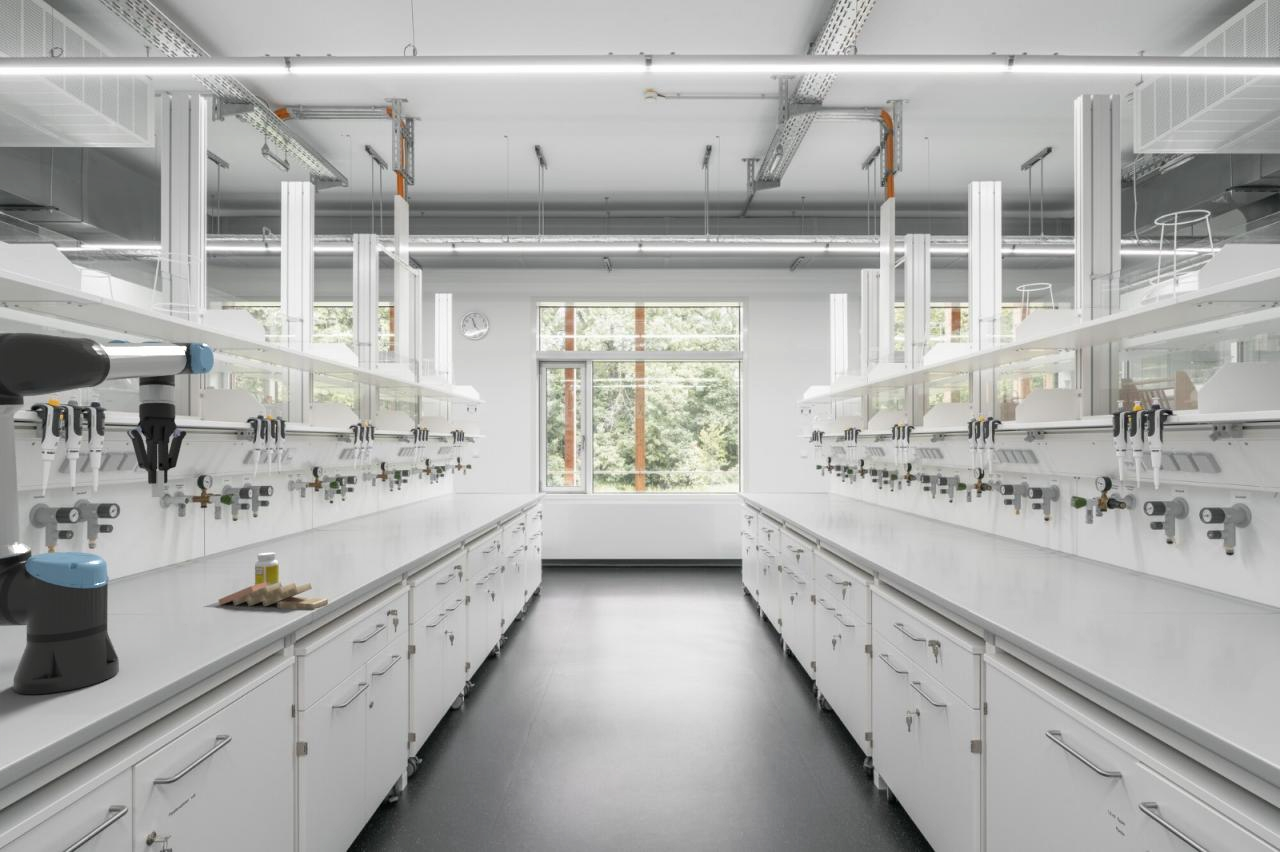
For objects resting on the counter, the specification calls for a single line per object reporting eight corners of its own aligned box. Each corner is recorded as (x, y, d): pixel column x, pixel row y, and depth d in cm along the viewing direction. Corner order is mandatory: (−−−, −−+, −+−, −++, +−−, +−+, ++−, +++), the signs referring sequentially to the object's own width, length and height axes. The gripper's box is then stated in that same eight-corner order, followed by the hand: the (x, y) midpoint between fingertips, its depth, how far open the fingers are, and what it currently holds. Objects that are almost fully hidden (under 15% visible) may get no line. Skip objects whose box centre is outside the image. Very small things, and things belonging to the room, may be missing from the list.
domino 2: (232, 600, 184) (265, 586, 182) (248, 595, 189) (280, 582, 187) (234, 605, 184) (267, 592, 182) (249, 601, 189) (282, 587, 187)
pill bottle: (280, 587, 208) (280, 551, 208) (276, 592, 202) (276, 554, 202) (257, 589, 206) (257, 552, 206) (252, 594, 200) (252, 555, 200)
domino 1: (218, 599, 185) (251, 586, 183) (234, 595, 190) (266, 581, 188) (220, 605, 185) (253, 591, 183) (235, 600, 190) (268, 587, 188)
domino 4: (262, 601, 182) (296, 587, 180) (276, 596, 188) (310, 583, 186) (264, 606, 182) (298, 593, 180) (278, 601, 188) (312, 588, 186)
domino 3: (246, 600, 183) (280, 587, 181) (261, 596, 189) (294, 582, 187) (248, 606, 183) (282, 592, 181) (263, 601, 188) (296, 588, 186)
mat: (203, 607, 184) (203, 606, 184) (229, 599, 193) (229, 598, 193) (275, 610, 179) (275, 609, 179) (299, 602, 188) (298, 601, 188)
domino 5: (277, 601, 181) (314, 604, 179) (291, 596, 187) (327, 599, 185) (277, 607, 181) (314, 610, 179) (291, 602, 187) (327, 605, 185)
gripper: (176, 406, 182) (176, 496, 180) (120, 403, 170) (120, 498, 168) (192, 403, 178) (193, 494, 176) (137, 400, 167) (137, 497, 165)
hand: (157, 496), depth 172 cm, fingers closed
